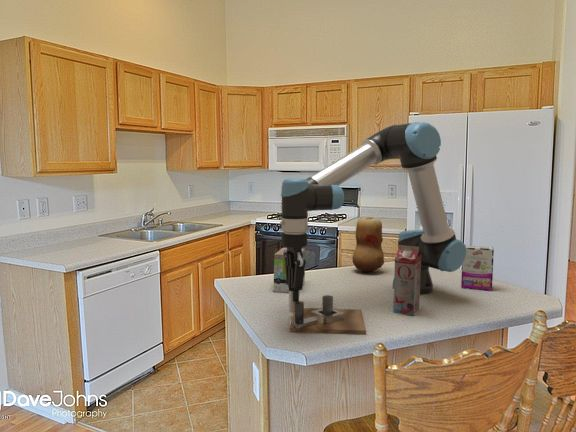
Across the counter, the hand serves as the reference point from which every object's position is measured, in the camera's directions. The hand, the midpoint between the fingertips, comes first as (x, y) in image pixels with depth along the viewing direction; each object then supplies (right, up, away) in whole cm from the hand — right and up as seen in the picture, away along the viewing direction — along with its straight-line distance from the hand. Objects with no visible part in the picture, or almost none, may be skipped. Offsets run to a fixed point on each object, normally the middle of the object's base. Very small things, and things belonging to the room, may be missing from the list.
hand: (294, 310), depth 128 cm
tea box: (-1, 0, +44) cm, 43 cm away
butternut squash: (+34, +3, +67) cm, 75 cm away
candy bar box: (+72, 0, +42) cm, 83 cm away
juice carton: (+37, -4, +15) cm, 41 cm away
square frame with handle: (+7, -4, +3) cm, 8 cm away
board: (+10, -5, +6) cm, 13 cm away
